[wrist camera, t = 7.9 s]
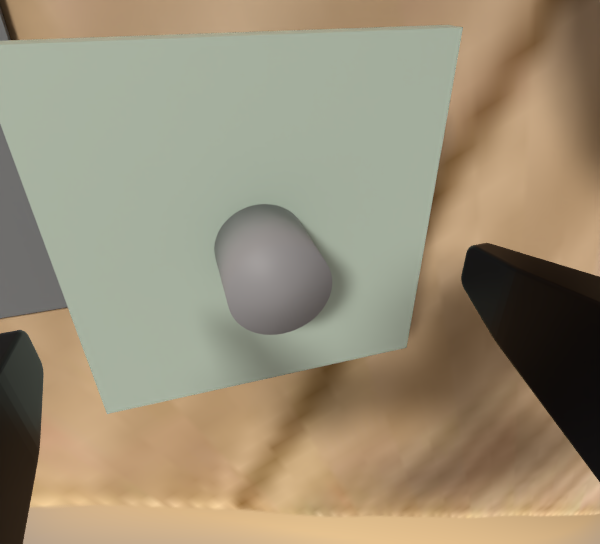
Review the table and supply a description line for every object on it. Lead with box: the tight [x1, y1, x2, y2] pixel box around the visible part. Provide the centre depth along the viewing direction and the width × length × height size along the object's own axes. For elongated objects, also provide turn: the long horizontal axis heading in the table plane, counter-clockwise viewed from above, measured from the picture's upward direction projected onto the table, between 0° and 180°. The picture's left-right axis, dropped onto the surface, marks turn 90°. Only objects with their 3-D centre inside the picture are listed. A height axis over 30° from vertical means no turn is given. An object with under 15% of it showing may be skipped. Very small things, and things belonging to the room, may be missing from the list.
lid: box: [0, 25, 463, 414], centre depth 15 cm, size 13×13×4 cm
